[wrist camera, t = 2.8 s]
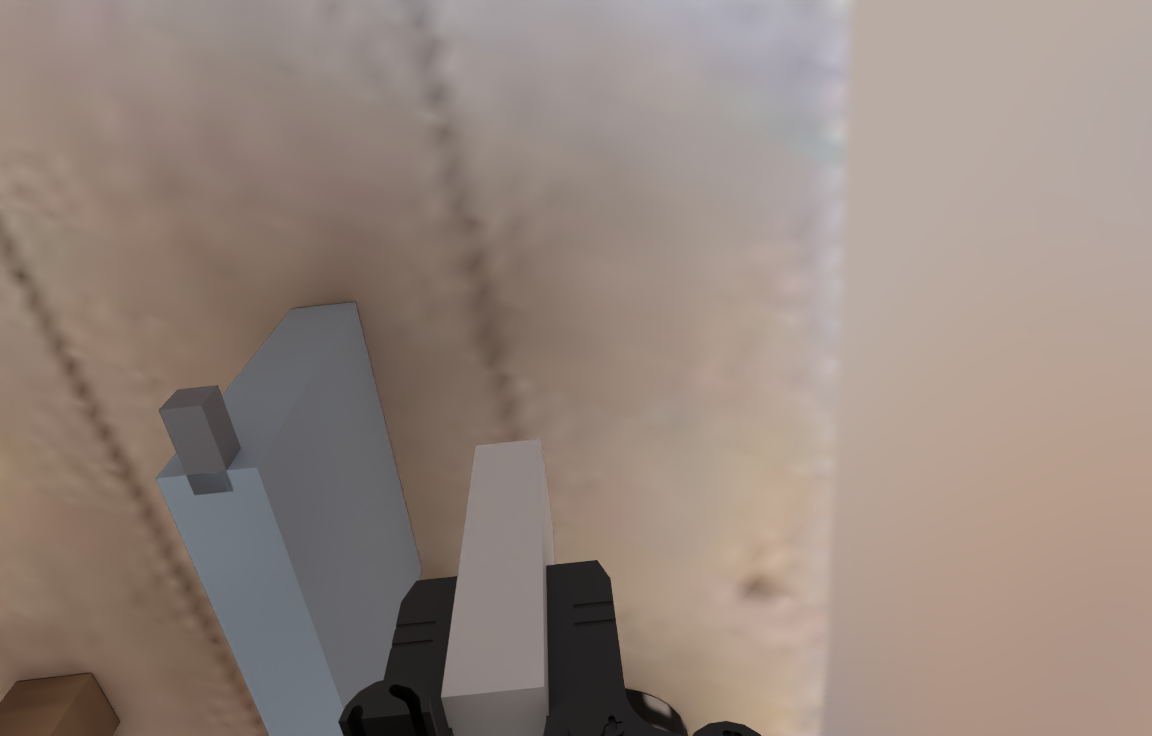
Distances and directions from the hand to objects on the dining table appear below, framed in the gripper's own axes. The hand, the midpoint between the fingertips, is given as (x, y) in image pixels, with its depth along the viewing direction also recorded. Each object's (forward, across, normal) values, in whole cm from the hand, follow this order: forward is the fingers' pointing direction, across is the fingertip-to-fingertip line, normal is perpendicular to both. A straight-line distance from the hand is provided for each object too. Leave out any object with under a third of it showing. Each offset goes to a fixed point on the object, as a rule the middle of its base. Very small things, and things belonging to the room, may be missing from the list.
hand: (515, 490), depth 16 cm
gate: (+7, -6, -2) cm, 10 cm away
